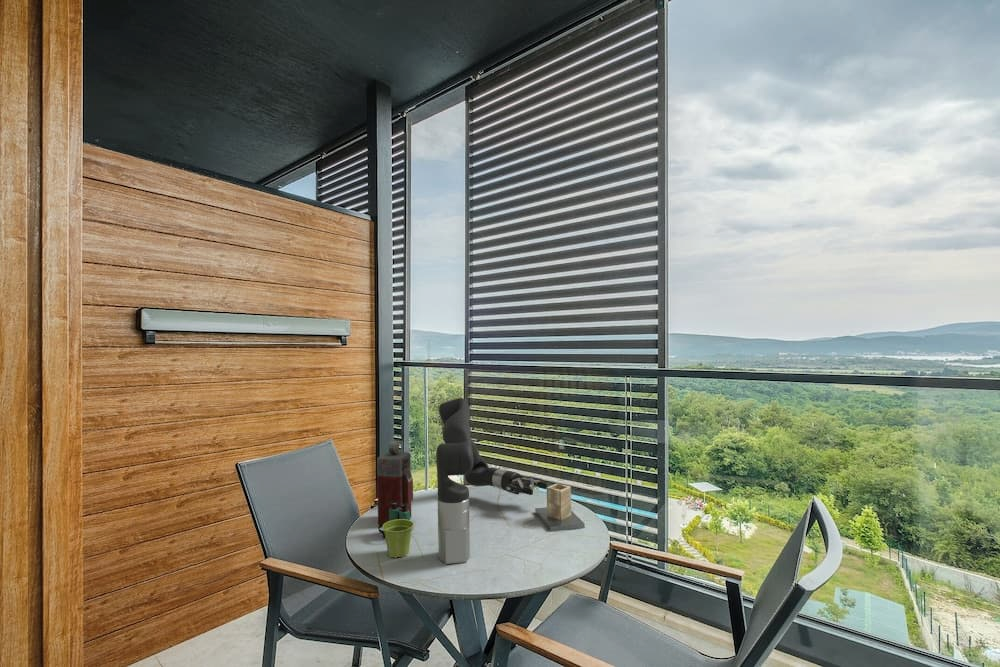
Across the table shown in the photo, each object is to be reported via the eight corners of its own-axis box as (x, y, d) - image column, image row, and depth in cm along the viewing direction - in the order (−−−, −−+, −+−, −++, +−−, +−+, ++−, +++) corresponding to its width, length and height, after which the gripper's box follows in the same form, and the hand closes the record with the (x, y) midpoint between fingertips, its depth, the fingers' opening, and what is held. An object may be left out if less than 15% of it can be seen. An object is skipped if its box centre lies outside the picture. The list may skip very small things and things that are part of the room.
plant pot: (420, 550, 152) (420, 521, 152) (402, 563, 143) (401, 533, 143) (395, 545, 156) (395, 517, 156) (375, 557, 147) (375, 528, 147)
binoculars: (372, 510, 160) (394, 497, 168) (375, 541, 160) (397, 528, 169) (392, 514, 155) (414, 502, 163) (395, 547, 156) (417, 533, 164)
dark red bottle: (408, 526, 170) (407, 444, 170) (377, 524, 172) (376, 443, 172) (417, 517, 179) (416, 439, 179) (388, 515, 181) (387, 438, 181)
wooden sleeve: (571, 515, 174) (570, 486, 174) (561, 520, 170) (560, 490, 170) (557, 511, 179) (556, 483, 179) (547, 516, 174) (546, 487, 174)
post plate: (584, 527, 167) (584, 504, 167) (550, 531, 164) (549, 507, 164) (566, 509, 184) (566, 488, 184) (535, 512, 182) (534, 491, 182)
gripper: (493, 474, 186) (527, 483, 175) (518, 466, 196) (551, 474, 185) (494, 494, 186) (527, 504, 175) (519, 485, 196) (552, 494, 185)
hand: (539, 489), depth 180 cm, fingers open, 8 cm apart
